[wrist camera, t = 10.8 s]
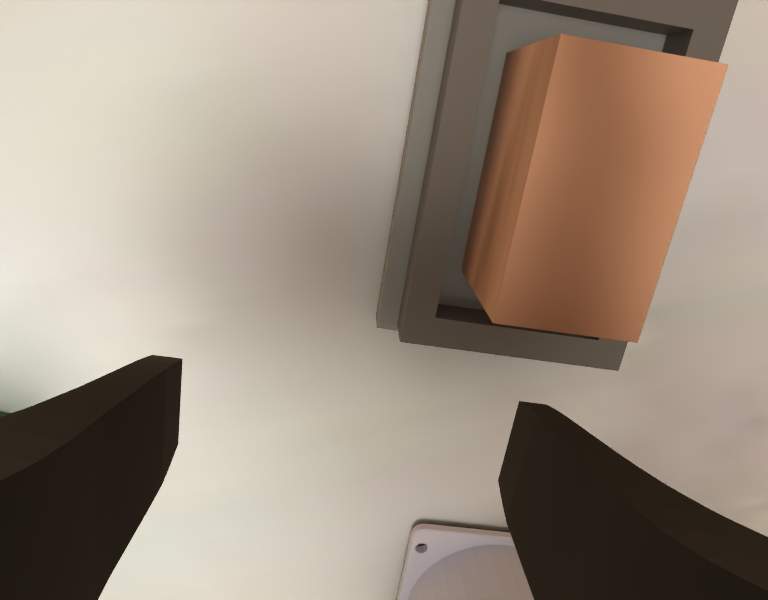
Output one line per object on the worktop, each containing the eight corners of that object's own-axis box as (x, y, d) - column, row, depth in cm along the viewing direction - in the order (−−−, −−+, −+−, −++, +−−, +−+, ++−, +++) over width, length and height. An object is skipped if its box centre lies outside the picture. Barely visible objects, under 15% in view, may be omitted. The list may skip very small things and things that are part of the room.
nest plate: (604, 346, 22) (635, 378, 20) (376, 315, 21) (378, 344, 19) (708, 8, 18) (765, -7, 16) (436, -45, 17) (448, -70, 15)
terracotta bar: (630, 75, 18) (728, 64, 13) (571, 286, 20) (637, 342, 15) (506, 52, 17) (560, 33, 13) (461, 270, 20) (493, 323, 15)
